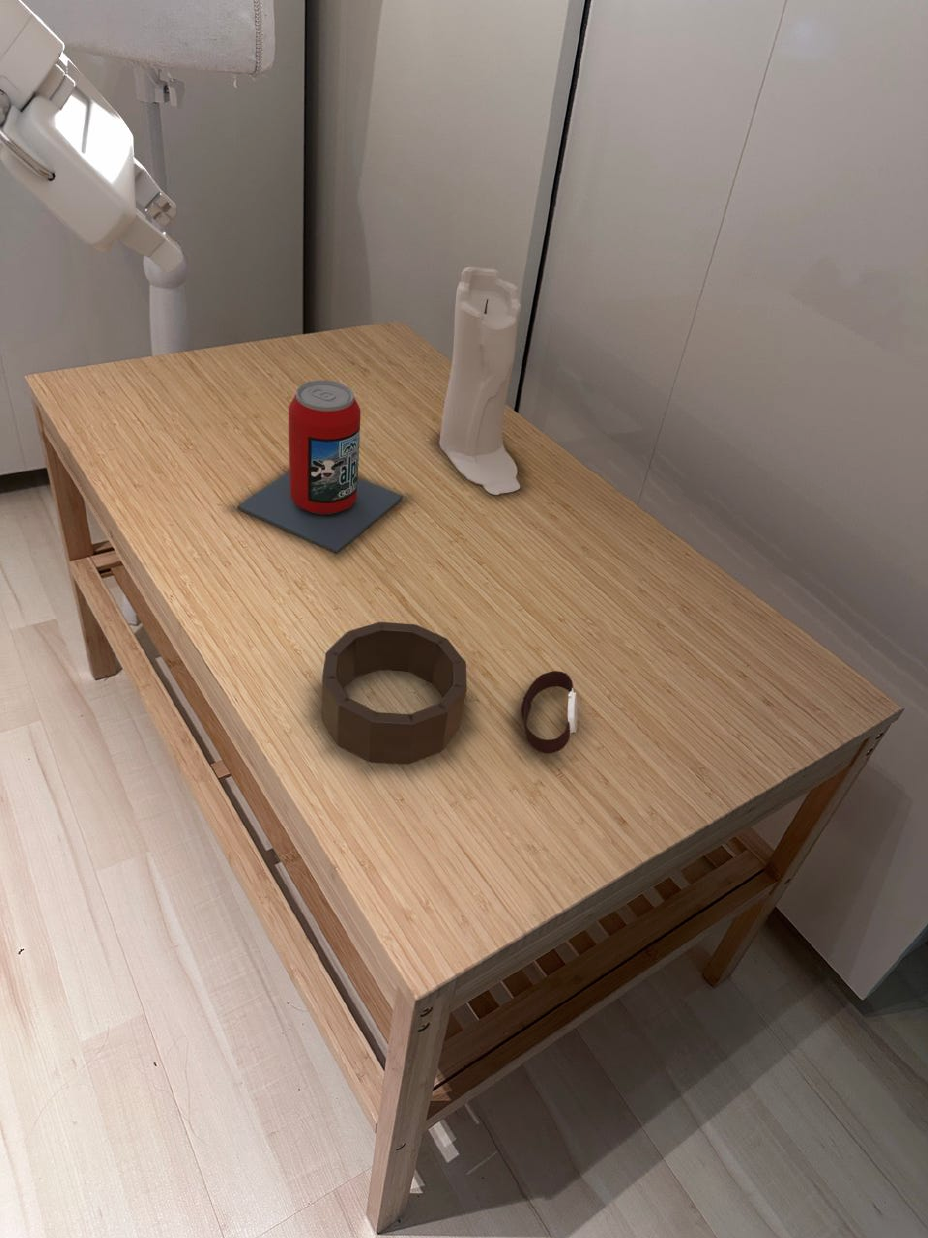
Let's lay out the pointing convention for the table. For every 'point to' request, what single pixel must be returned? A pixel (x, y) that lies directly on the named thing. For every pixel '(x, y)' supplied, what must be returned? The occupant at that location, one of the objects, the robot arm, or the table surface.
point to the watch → (566, 682)
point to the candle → (481, 379)
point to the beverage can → (324, 447)
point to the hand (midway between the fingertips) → (174, 239)
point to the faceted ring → (393, 731)
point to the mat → (320, 528)
